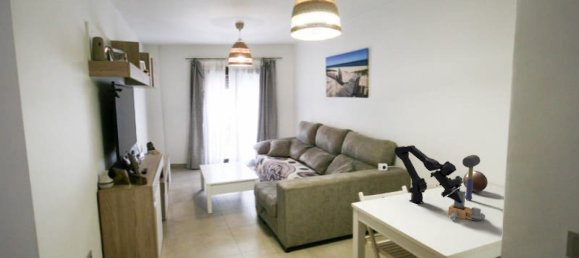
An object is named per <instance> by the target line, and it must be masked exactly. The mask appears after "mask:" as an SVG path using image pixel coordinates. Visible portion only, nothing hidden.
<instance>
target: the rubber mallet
mask: <svg viewBox="0 0 579 258" xmlns="http://www.w3.org/2000/svg"><path fill="white" fill-rule="evenodd" d="M480 162H481V159H480V157H479V156H478V155H476V154H471V155H467V156H465V157H464V158H463V159H462V165H463V166H464V167H465V168H468V172H467V173H468V179H467V183H466V187H465V188H466V189H465V201H472V200H473V195H472V194H473V192H472V188H473V179H472V178H473V171H474V167H476V166H478V165H479V164H481V163H480Z"/></svg>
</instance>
